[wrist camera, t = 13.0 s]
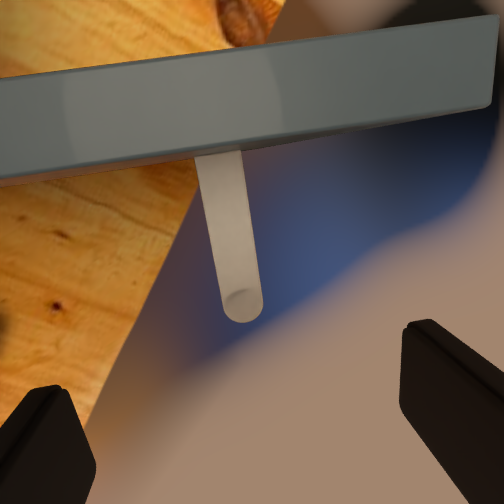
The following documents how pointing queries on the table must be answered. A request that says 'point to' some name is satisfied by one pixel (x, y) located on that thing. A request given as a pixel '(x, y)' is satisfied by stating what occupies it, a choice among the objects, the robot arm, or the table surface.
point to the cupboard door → (239, 115)
